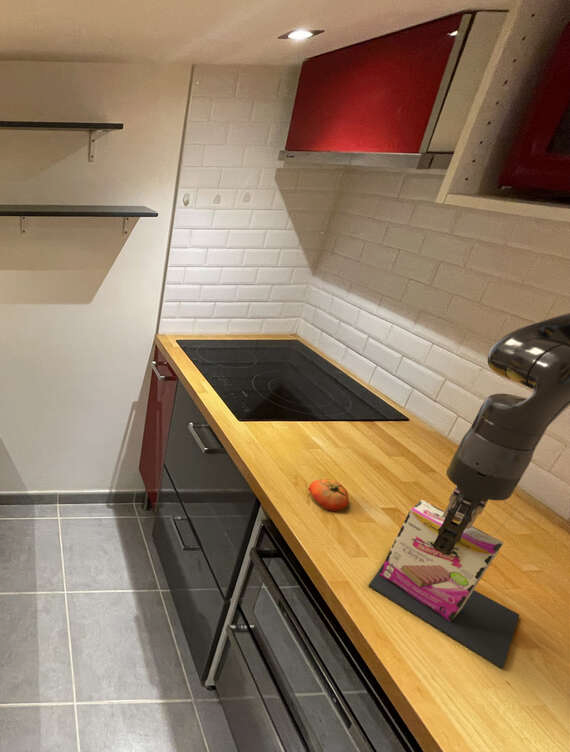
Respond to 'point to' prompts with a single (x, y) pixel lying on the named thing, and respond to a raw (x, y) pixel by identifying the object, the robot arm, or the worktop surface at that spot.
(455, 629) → the mat
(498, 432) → the robot arm
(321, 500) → the tomato
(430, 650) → the worktop surface
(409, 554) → the candy bar box
